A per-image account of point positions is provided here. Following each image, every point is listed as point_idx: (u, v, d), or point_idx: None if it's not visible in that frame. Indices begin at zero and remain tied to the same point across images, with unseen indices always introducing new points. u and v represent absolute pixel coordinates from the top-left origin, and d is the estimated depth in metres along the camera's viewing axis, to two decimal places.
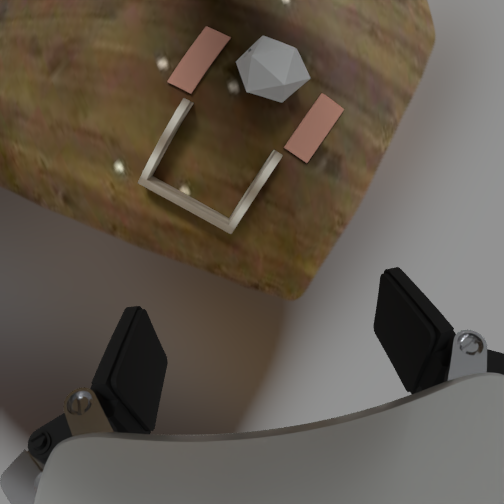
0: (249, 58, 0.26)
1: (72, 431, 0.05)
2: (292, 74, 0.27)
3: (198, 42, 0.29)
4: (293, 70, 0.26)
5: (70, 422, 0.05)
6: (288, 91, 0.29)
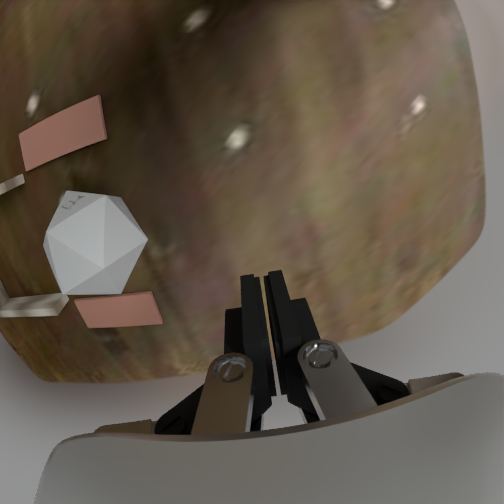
0: (48, 227, 0.15)
1: (203, 394, 0.06)
2: (83, 289, 0.18)
3: (72, 112, 0.18)
4: (87, 286, 0.17)
5: (207, 383, 0.06)
6: None
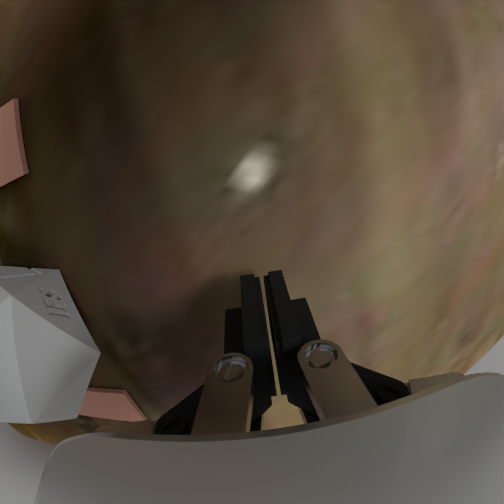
0: None
1: (203, 393, 0.06)
2: None
3: None
4: None
5: (207, 383, 0.06)
6: None
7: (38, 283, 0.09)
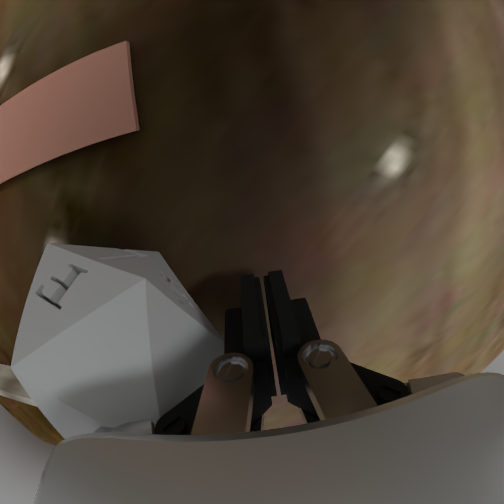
0: None
1: (203, 393, 0.06)
2: None
3: (68, 76, 0.08)
4: None
5: (207, 383, 0.06)
6: None
7: (155, 265, 0.09)
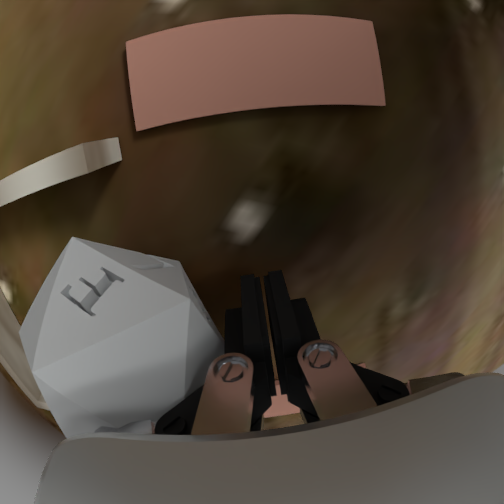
0: (34, 351, 0.05)
1: (203, 393, 0.06)
2: None
3: (310, 26, 0.08)
4: None
5: (207, 383, 0.06)
6: None
7: (185, 280, 0.10)
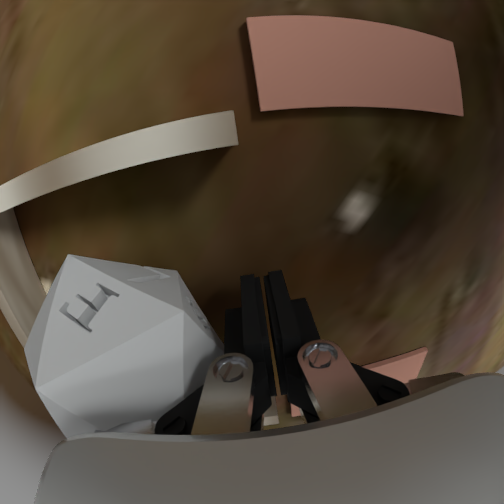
0: (37, 368, 0.06)
1: (203, 393, 0.06)
2: None
3: (412, 39, 0.08)
4: None
5: (207, 383, 0.06)
6: None
7: (181, 290, 0.10)
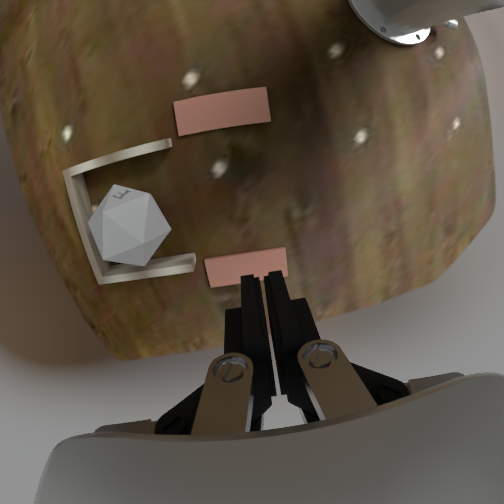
0: (103, 209, 0.24)
1: (203, 393, 0.06)
2: (120, 257, 0.26)
3: (240, 94, 0.26)
4: (124, 256, 0.26)
5: (207, 383, 0.06)
6: None
7: None
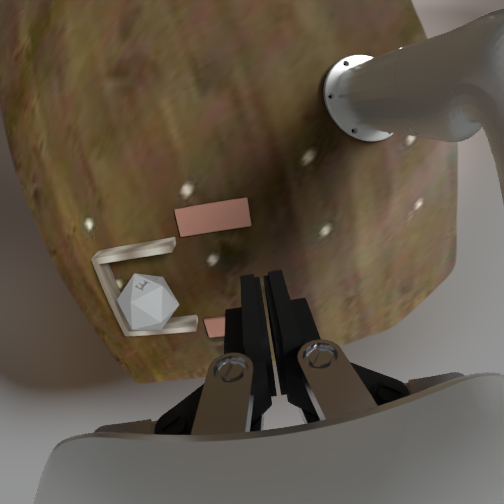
0: (130, 298, 0.35)
1: (203, 393, 0.06)
2: (144, 328, 0.37)
3: (226, 205, 0.37)
4: (147, 327, 0.37)
5: (207, 383, 0.06)
6: None
7: (163, 282, 0.39)
